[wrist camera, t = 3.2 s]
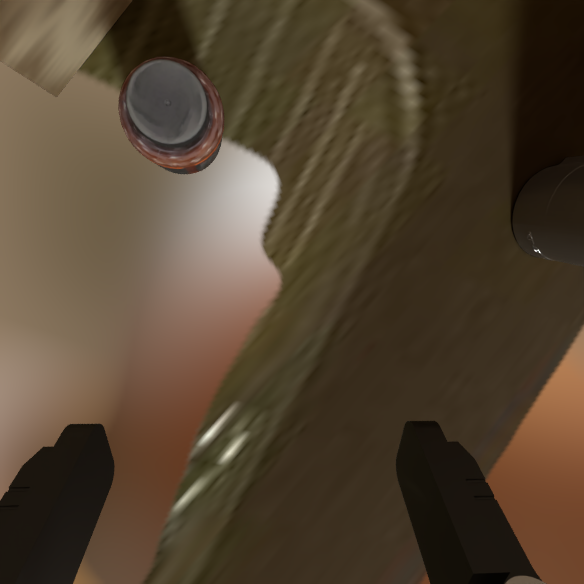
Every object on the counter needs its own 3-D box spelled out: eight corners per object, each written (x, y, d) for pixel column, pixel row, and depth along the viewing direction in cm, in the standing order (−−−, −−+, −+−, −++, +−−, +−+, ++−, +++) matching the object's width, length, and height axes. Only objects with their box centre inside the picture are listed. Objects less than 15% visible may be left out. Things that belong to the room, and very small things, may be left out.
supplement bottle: (226, 105, 30) (237, 56, 19) (215, 182, 31) (219, 176, 21) (147, 84, 28) (110, 18, 18) (138, 165, 30) (99, 150, 19)
